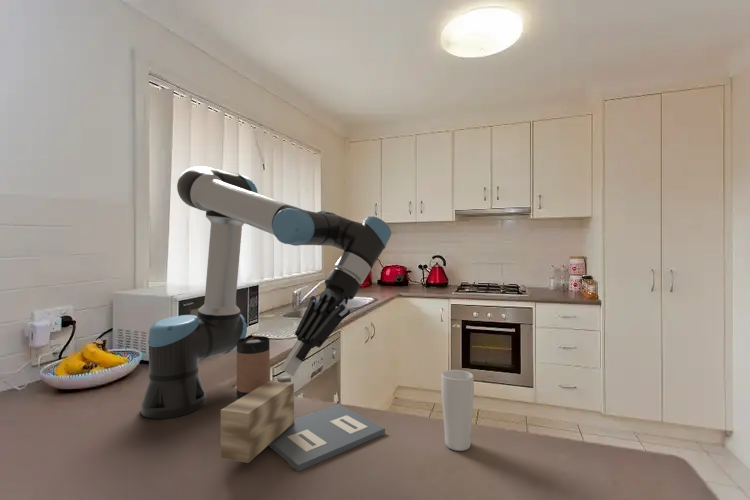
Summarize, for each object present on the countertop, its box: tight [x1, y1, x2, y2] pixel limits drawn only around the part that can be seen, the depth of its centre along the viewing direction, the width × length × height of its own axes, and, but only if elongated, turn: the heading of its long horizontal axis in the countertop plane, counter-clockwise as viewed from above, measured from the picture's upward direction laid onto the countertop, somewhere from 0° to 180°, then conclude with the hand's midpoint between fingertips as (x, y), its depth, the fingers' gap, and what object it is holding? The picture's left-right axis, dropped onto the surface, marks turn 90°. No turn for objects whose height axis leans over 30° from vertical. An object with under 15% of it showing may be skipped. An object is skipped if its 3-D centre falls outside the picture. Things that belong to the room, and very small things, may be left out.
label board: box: [268, 403, 386, 472], centre depth 84 cm, size 19×22×2 cm
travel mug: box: [236, 335, 271, 400], centre depth 90 cm, size 8×8×20 cm
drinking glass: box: [440, 369, 475, 452], centre depth 79 cm, size 7×7×15 cm
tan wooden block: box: [220, 375, 295, 464], centre depth 79 cm, size 20×6×9 cm, turn 163°
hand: (286, 372), depth 76 cm, fingers closed
